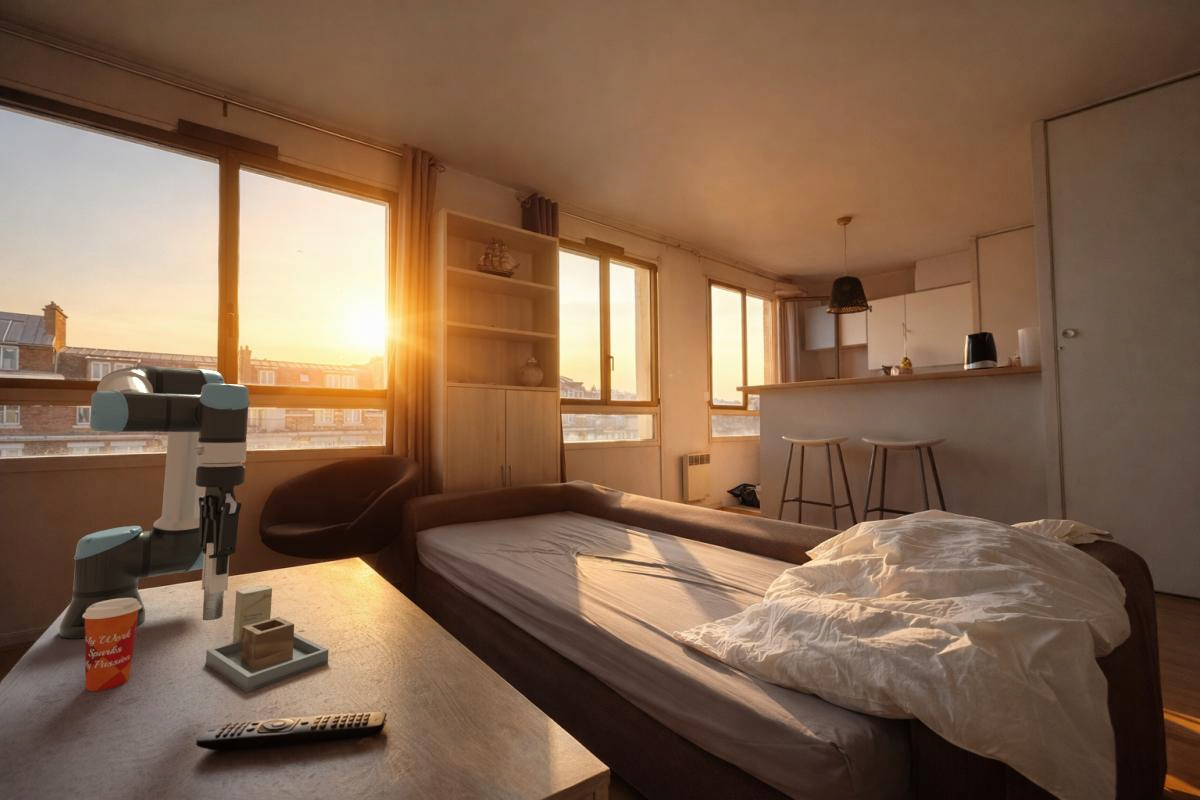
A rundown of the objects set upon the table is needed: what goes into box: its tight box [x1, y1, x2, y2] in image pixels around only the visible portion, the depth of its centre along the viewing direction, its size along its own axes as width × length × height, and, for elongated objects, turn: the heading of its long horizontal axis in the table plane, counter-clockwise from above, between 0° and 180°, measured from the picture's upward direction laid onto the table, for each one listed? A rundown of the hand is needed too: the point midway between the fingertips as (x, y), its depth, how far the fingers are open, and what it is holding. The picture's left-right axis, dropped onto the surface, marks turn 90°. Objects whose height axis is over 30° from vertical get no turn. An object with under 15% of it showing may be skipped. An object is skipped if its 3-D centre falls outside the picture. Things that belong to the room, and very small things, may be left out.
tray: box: [205, 632, 329, 694], centre depth 108 cm, size 20×15×3 cm
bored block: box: [241, 616, 295, 670], centre depth 108 cm, size 7×7×7 cm
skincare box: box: [232, 584, 273, 642], centre depth 118 cm, size 6×4×12 cm
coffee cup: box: [82, 598, 142, 692], centre depth 99 cm, size 8×8×15 cm
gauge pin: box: [202, 541, 225, 621], centre depth 98 cm, size 3×3×14 cm
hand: (214, 589), depth 98 cm, fingers closed on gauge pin, 3 cm apart
